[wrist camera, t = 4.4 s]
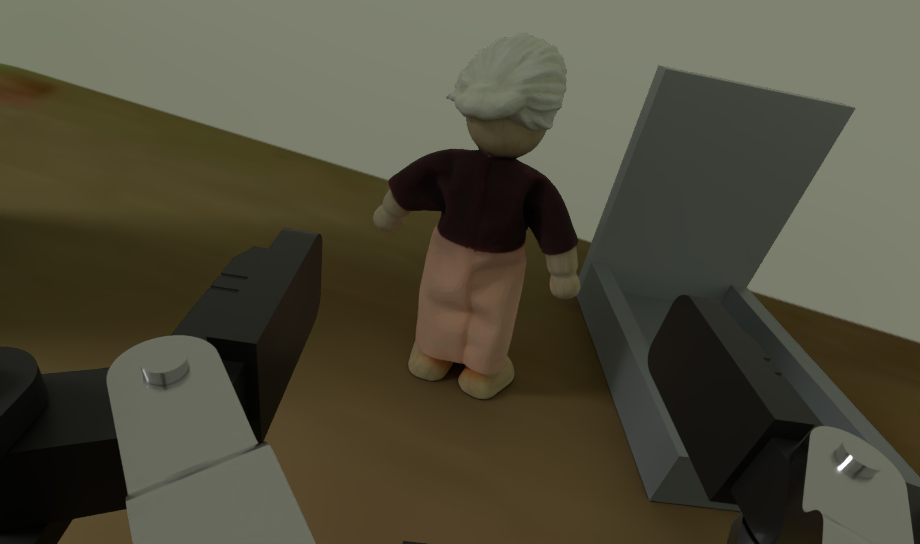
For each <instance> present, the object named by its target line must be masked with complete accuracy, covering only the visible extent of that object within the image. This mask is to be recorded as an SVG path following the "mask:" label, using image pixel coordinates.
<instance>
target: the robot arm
mask: <svg viewBox="0 0 920 544" xmlns="http://www.w3.org/2000/svg"><path fill="white" fill-rule="evenodd" d="M321 266H322V236H321V234H319V233H313V232H307V231H300V230H294V229H288V228H284V229H283V230H282V231H281V232H280V234H279V235H278V236H277V238H276V239H275V241H274V242H273V243H272V245H271V246H270V248H269V249H266V248H259V247H253V248H251V249H249V250H247V251H245V252H244V253H242V254H240V255H238V256H236V257H234V258H233V259H232V260H231V262H230V263H229V264H228V265H227V267H226V268H225V269H224V270H223V271H222V273H221V276H218V278H217V279H216V280H215V281H214V283H213V284H212V285H211V289H208V290H207V291H206V292H205V294H204V295H203V296H202V297H201V299H200V300H199V301H198V302H197V303H196V305H195V306H194V307H193V308H192V310H191V311H190V312H189V313H188V315H187V316H186V317H185V318H184V319H183V321H182V322H181V323H180V324H179V326H178V327H177V328H176V329H175V331H174V332H173V333H172V334H171V335H170V336H164V337H159V338H154V339H151V340H147V341H145V342H142V343H140V344H138V345H136V346H134V347H132V348H130V349H128V350H127V351H125V352H124V353H123V354H121V355H120V356H119V357H118V358H117V359H116V360H115V361H114V362H113V364H112V365H111V367H109V368H102V369H93V370H82V371H71V372H60V373H49V374H41V372H40V370H39V367H38V365H37V362H36V360H35V358H34V357H33V356H31V355H30V354H29V353H27V352H25V351H23V350H20V349H17V348H11V347H0V544H57V543H58V541H59V540H60V538H61V537H62V535H63V534H64V532H65V531H66V529H67V528H68V526H69V524H70V523H71V521H72V520H73V519H75V518H80V517H86V516H91V515H96V514H102V513H107V512H113V511H118V510H124V509H127V513H128V519H129V524H130V530H131V535H132V541H133V544H316V543H315V541H314V539H313V536H312V534H311V532H310V530H309V528H308V525H307V523H306V521H305V519H304V517H303V515H302V512H301V510H300V508H299V506H298V504H297V501H296V499H295V497H294V495H293V493H292V491H291V488H290V486H289V484H288V482H287V480H286V477H285V475H284V473H283V471H282V469H281V467H280V464H279V462H278V460H277V458H276V456H275V454H274V452H273V450H272V448H271V447H270V446H269V444H268V443H267V442H263V441H264V439H265V436H266V434H267V432H268V429H269V427H270V425H271V422H272V420H273V418H274V415H275V413H276V411H277V408H278V406H279V404H280V401H281V399H282V397H283V394H284V392H285V390H286V387H287V385H288V383H289V380H290V378H291V376H292V373H293V371H294V369H295V366H296V364H297V362H298V359H299V357H300V355H301V353H302V350H303V348H304V346H305V343H306V341H307V339H308V336H309V334H310V332H311V329H312V327H313V325H314V322H315V319H316V316H317V313H318V308H319V303H320V294H321ZM648 368H649V372H650V374H651V376H652V379H653V381H654V383H655V385H656V387H657V389H658V391H659V394H660V396H661V398H662V400H663V402H664V404H665V407H666V409H667V411H668V413H669V415H670V417H671V419H672V422H673V424H674V426H675V428H676V430H677V432H678V434H679V437H680V439H681V441H682V443H683V445H684V447H685V450H686V452H687V454H688V456H689V458H690V460H691V462H692V465H693V467H694V469H695V471H696V473H697V475H698V477H699V480H700V482H701V484H702V486H703V488H704V490H705V493H706V495H707V497H708V499H709V501H711V502H719V503H727V504H735V505H738V506H739V508H740V510H741V513H740V514H739V515H738V516H737V517H736V518H735V520H734V521H733V523H732V525H731V529H730V533H729V537H728V541H727V544H920V487H918V486H915V485H912V484H910V483H907V482H905V481H904V479H903V477H902V475H901V474H900V472H899V471H898V469H897V468H896V467H895V466H894V465H893V464H892V463H891V462H890V461H889V460H888V459H887V458H886V457H885V456H884V455H883V454H882V453H881V452H880V451H878V450H877V449H876V448H874V447H873V446H872V445H870V444H869V443H867V442H865V441H864V440H862V439H860V438H859V437H857V436H855V435H853V434H851V433H849V432H846V431H844V430H841V429H838V428H834V427H829V426H824V425H823V424H822V423H821V421H820V420H819V419H818V418H817V416H816V415H815V414H814V413H813V411H812V410H811V409H810V408H809V406H808V405H807V404H806V403H805V401H804V400H803V399H802V398H801V396H800V395H799V394H798V393H797V391H796V390H795V389H794V387H793V386H792V385H791V384H790V382H789V381H788V380H787V379H786V377H782V372H781V371H780V370H779V369H778V367H777V366H776V365H775V364H774V362H770V357H769V356H768V355H767V354H766V352H765V351H764V350H763V349H762V347H761V346H760V345H759V344H758V342H757V341H756V340H755V339H753V338H752V337H751V336H750V335H748V334H747V333H746V332H745V331H743V330H742V329H741V328H740V327H739V326H738V325H737V324H736V322H735V321H734V320H733V318H732V317H731V316H730V315H729V313H728V312H727V311H726V309H725V308H724V307H723V306H722V304H721V303H720V302H719V301H717V300H715V299H709V298H703V297H696V296H690V295H680V296H678V297H677V298H676V299H675V300H674V302H673V304H672V306H671V307H670V309H669V311H668V313H667V315H666V317H665V319H664V321H663V323H662V325H661V327H660V328H659V330H658V332H657V334H656V336H655V338H654V340H653V342H652V344H651V346H650V349H649V353H648ZM403 544H425V543H416V542H407V541H403Z"/></svg>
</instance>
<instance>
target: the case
mask: <svg viewBox="0 0 920 544" xmlns="http://www.w3.org/2000/svg"><path fill="white" fill-rule="evenodd" d="M854 110H855V108H853V107H850V106H847V105H845V104H842V103H836V102H832V101H827V100H822V99H818V98H813V97H808V96H803V95H798V94H794V93H789V92H784V91H779V90H775V89H769V88H765V87H760V86H755V85H750V84H746V83H741V82H736V81H731V80H727V79H722V78H717V77H712V76H707V75H703V74H698V73H693V72H688V71H683V70H679V69H673V68H669V67H664V66H658V68H657V71H656V73H655V76H654V79H653V81H652V84H651V87H650V89H649V92H648V95H647V97H646V100H645V103H644V105H643V108H642V110H641V113H640V116H639V118H638V121H637V124H636V126H635V129H634V132H633V134H632V137H631V140H630V142H629V145H628V148H627V150H626V153H625V156H624V158H623V161H622V163H621V166H620V169H619V172H618V174H617V177H616V180H615V182H614V185H613V187H612V190H611V193H610V195H609V198H608V201H607V203H606V206H605V208H604V211H603V214H602V216H601V219H600V222H599V225H598V227H597V230H596V232H595V235H594V238H593V240H592V243H591V246H590V248H589V251H588V254H587V256H586V259H585V261H584V264H583V267H582V269H581V272H580V275H579V277H578V278H579V280H580V290H579V292H578V294H577V295H576V296H577V299H578V302H579V305H580V307H581V310H582V313H583V316H584V319H585V321H586V324H587V327H588V330H589V333H590V335H591V338H592V341H593V344H594V347H595V350H596V352H597V355H598V358H599V361H600V364H601V366H602V369H603V372H604V375H605V378H606V380H607V383H608V386H609V389H610V392H611V394H612V397H613V400H614V403H615V406H616V408H617V411H618V414H619V417H620V420H621V422H622V425H623V428H624V431H625V434H626V436H627V439H628V442H629V445H630V448H631V451H632V453H633V456H634V459H635V462H636V465H637V467H638V470H639V473H640V476H641V479H642V481H643V484H644V487H645V490H646V493H647V495H648V498H649V501H656V502H665V503H673V504H682V505H690V506H699V507H708V508H716V509H725V510H733V511H741V510H740V508H739V506H738V505H735V504H727V503H719V502H711V501H709V499H708V497H707V495H706V493H705V490H704V488H703V486H702V484H701V482H700V480H699V477H698V475H697V473H696V471H695V469H694V467H693V465H692V462H691V460H690V458H689V456H688V454H687V452H686V450H685V447H684V445H683V443H682V441H681V439H680V437H679V434H678V432H677V430H676V428H675V426H674V424H673V422H672V419H671V417H670V415H669V413H668V411H667V409H666V407H665V404H664V402H663V400H662V398H661V396H660V394H659V391H658V389H657V387H656V385H655V383H654V381H653V379H652V376H651V374H650V372H649V368H648V353H649V349H650V346H651V344H652V342H653V340H654V338H655V336H656V334H657V332H658V330H659V328H660V327H661V325H662V323H663V321H664V319H665V317H666V315H667V313H668V311H669V309H670V307H671V306H672V304H673V302H674V300H675V299H676V298H677V297H678V296H680V295H690V296H696V297H703V298H709V299H715V300H717V301H719V302H720V303H721V304H722V306H723V307H724V308H725V309H726V311H727V312H728V313H729V315H730V316H731V317H732V318H733V320H734V321H735V322H736V324H737V325H738V326H739V327H740V328H741V329H742V330H743V331H745V332H746V333H747V334H748V335H750V336H751V337H752V338H753V339H755V340H756V341H757V342H758V344H759V345H760V346H761V347H762V349H763V350H764V351H765V352H766V354H767V355H768V356H769V357H770V362H774V364H775V365H776V366H777V367H778V369H779V370H780V371H781V372H782V377H786V379H787V380H788V381H789V382H790V384H791V385H792V386H793V387H794V389H795V390H796V391H797V393H798V394H799V395H800V396H801V398H802V399H803V400H804V401H805V403H806V404H807V405H808V406H809V408H810V409H811V410H812V411H813V413H814V414H815V415H816V416H817V418H818V419H819V420H820V421H821V423H822V424H823V425H824V426H829V427H834V428H838V429H841V430H844V431H846V432H849V433H851V434H853V435H855V436H857V437H859V438H860V439H862V440H864V441H865V442H867V443H869V444H870V445H872V446H873V447H874V448H876V449H877V450H878V451H880V452H881V453H882V454H883V455H884V456H885V457H886V458H887V459H888V460H889V461H890V462H891V463H892V464H893V465H894V466H895V467H896V468H897V469H898V471H899V472H900V474H901V475H902V477H903V479H904V481H905V482H907V483H910V484H912V485H915V486H918V487H920V477H919V476H918V475H917V474H916V473H915V472H914V470H913V469H912V468H911V467H910V466H909V465H908V464H907V463H906V462H905V461H904V459H903V458H902V457H901V456H900V455H899V454H898V453H897V452H896V451H895V450H894V449H893V447H892V446H891V445H890V444H889V443H888V442H887V441H886V440H885V439H884V438H883V436H882V435H881V434H880V433H879V432H878V431H877V430H876V429H875V428H874V427H873V425H872V424H871V423H870V422H869V421H868V420H867V419H866V418H865V417H864V416H863V415H862V413H861V412H860V411H859V410H858V409H857V408H856V407H855V406H854V405H853V404H852V402H851V401H850V400H849V399H848V398H847V397H846V396H845V395H844V394H843V393H842V391H841V390H840V389H839V388H838V387H837V386H836V385H835V384H834V383H833V382H832V380H831V379H830V378H829V377H828V376H827V375H826V374H825V373H824V372H823V371H822V370H821V368H820V367H819V366H818V365H817V364H816V363H815V362H814V361H813V360H812V359H811V357H810V356H809V355H808V354H807V353H806V352H805V351H804V350H803V349H802V348H801V346H800V345H799V344H798V343H797V342H796V341H795V340H794V339H793V338H792V337H791V336H790V334H789V333H788V332H787V331H786V330H785V329H784V328H783V327H782V326H781V325H780V323H779V322H778V321H777V320H776V319H775V318H774V317H773V316H772V315H771V314H770V312H769V311H768V310H767V309H766V308H765V307H764V306H763V305H762V304H761V303H760V302H759V300H758V299H757V298H756V297H755V296H754V295H753V294H752V293H751V292H750V291H749V289H748V288H747V286H748V284H749V282H750V281H751V279H752V278H753V276H754V274H755V272H756V271H757V269H758V268H759V266H760V264H761V263H762V261H763V259H764V258H765V256H766V255H767V253H768V251H769V250H770V248H771V246H772V245H773V243H774V241H775V240H776V238H777V236H778V235H779V233H780V232H781V230H782V228H783V226H784V225H785V223H786V222H787V220H788V218H789V217H790V215H791V213H792V212H793V210H794V209H795V207H796V205H797V204H798V202H799V200H800V199H801V197H802V195H803V194H804V192H805V190H806V189H807V187H808V186H809V184H810V182H811V181H812V179H813V177H814V176H815V174H816V172H817V171H818V169H819V167H820V166H821V164H822V162H823V161H824V159H825V157H826V156H827V154H828V153H829V151H830V149H831V148H832V146H833V145H834V143H835V141H836V139H837V138H838V136H839V135H840V133H841V131H842V130H843V128H844V126H845V125H846V123H847V122H848V120H849V118H850V116H851V115H852V113H853V112H854Z"/></svg>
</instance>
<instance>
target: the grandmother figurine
mask: <svg viewBox="0 0 920 544" xmlns="http://www.w3.org/2000/svg"><path fill="white" fill-rule="evenodd" d="M566 73H567V70H566V68H565V63H564V58H563V57H562V55H561V54H559V52H558V49H557V47H555V46H553V45H551V44H549V43H548V42H546V41H545V40H542V39H539V38H535V37H534V36H532V35H529V34H526V33H519V34H516V35H514V36H513V37H510V38H507V37H504V38H500V39H497V40H495V41H494V42H493V43H492V44H490V45H489V46H487V47H486V48H484V49H480V50H479V51H478V53H477V54H476V55H475V56H474V58H473V59H472V60H471V61H470V62H469V64H468V66H467V67H466V68H465V69H464V70H462V71H461V72H460V75H459V77H458V80H457V83H456V84H455V91H454V92H453V93H451V94H449V95H448V96H447V97H446V98H447V99H451V100H452V101H454V102H455V106H456V108H457V109H458V110H459V111H460V112H461V114H462V115H463V116H465V117H466V121H467V126H468V130H469V133H470V135H471V137H472V139H473V141H474V142H475V143H476V145H477V146H478V148H479V150H464V149H448V150H442V151H437V152H434V153H431V154H428V155H426V156H424V157H421V158H420V159H418V160H416V161H415V162H413V163H411V164H410V165H409V166H407V167H406V168H404V169H403V170H401V171H400V172H399V173H397V174H396V175H394V176H393V177H392V178H390V180H389V186H390V189H389V191H388V192H387V194H386V196H385V197H384V200H383V205H381V206H380V207H378V208H377V209H376V211H375V213H374V216H373V220H374V223H375V225H376V226H377V227H378V228H379V229H380V230H382V231H385V232H392V231H395V230H397V228H398V227H399V226H400V224H401V221H402V217H405V216H406V215H408V213H409V212H410V211H421V210H428V211H442V213H441V218H440V221H439V223H438V224H437V225H436V227H435V229H434V231H433V234H432V237H431V241H430V245H429V249H428V252H427V256H426V261H425V267H424V272H423V276H422V281H421V285H420V291H419V305H418V318H417V325H416V340H415V342H414V345H413V348H412V351H411V355H410V359H409V362H408V367H409V370H410V372H411V373H412V374H414V375H415V376H417V377H419V378H422V379H425V380H429V381H434V380H439V379H441V378H443V377H444V376H445V375H446V373H447V372H448V371H449V369H450V368H451V366H452V365H453V363H454V362H456V363H463V364H465V365H466V367H465V368H464V370H463V372H462V373H461V375H460V376H459V379H458V383H459V385H460V387H461V389H462V390H463V391H464V392H466V393H467V394H469V395H471V396H473V397H475V398H478V399H488V398H491V397H492V396H494V395H495V394H497V393H498V392H499V391H500V390H502V389H503V388H504V387H506V386H507V385H508V384H509V383H510V382H511V381H512V380H513V378H514V367H513V364H512V362H511V360H510V359H509V357H508V356H507V354H508V350H509V346H510V343H511V339H512V334H513V329H514V324H515V319H516V315H517V310H518V305H519V301H520V297H521V292H522V287H523V281H524V275H525V269H526V262H527V260H526V254H525V238H526V230H527V229H528V227H530V229H531V230H532V232H533V234H534V236H535V238H536V239H537V241H538V243H539V246H540V248H541V249H542V252H543V253H544V254H545V256H546V262H547V268H548V271H549V272H550V273H551V278H550V289H551V292H552V294H553V295H554V296H555V297H557V298H559V299H562V300H568V299H571V298H573V297H575V296H576V295H577V294H578V292H579V290H580V280H579V278H578V276H577V274H576V270H577V268H578V259H577V250H576V246H577V243H578V239H577V235H576V233H575V230H574V228H573V225H572V222H571V219H570V216H569V213H568V211H567V208H566V206H565V203H564V201H563V199H562V197H561V195H560V194H559V192H558V190H557V189H556V187H555V186H554V185H553V184H552V183H551V181H550V180H549V179H548V178H547V177H546V176H545V175H543V174H542V173H540V172H538V171H537V170H535V169H534V168H531V167H530V166H528V165H526V164H524V163H522V162H520V161H519V160H517V159H516V158H518V157H520V156H523V155H525V154H527V153H528V152H530V151H532V150H533V149H534V148H535V147H536V146H537V145H538V144H539V142H540V141H541V140H542V138H543V136H544V135H545V132H546V130H548V129H551V128H552V126H553V120H554V116H555V115H556V113H557V111H558V110H559V109H560V108H561V107H562V101H563V97H564V93H565V91H566V77H565V75H566Z"/></svg>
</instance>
